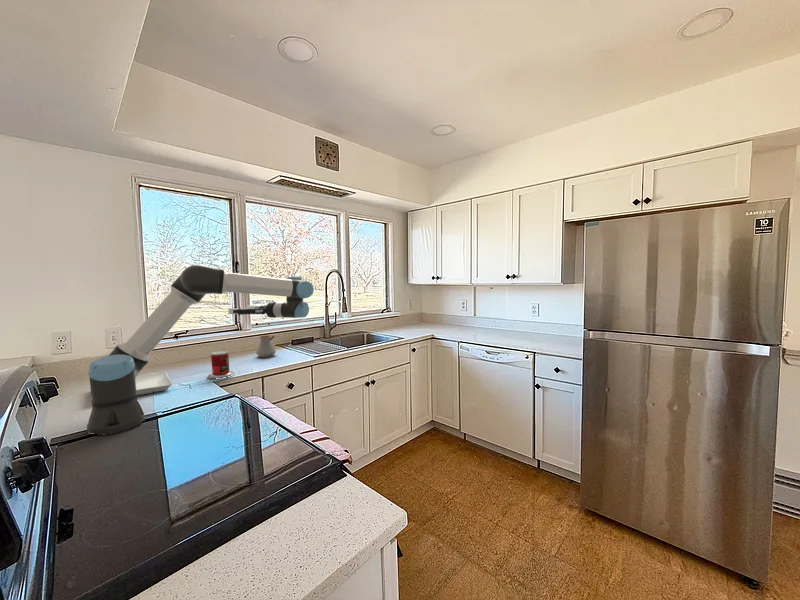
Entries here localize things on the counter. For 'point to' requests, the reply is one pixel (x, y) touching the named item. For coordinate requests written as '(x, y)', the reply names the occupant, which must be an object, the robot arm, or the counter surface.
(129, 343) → the robot arm
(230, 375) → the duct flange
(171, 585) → the counter surface
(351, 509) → the counter surface
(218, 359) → the canned food
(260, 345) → the coffee pot
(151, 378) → the square plate
